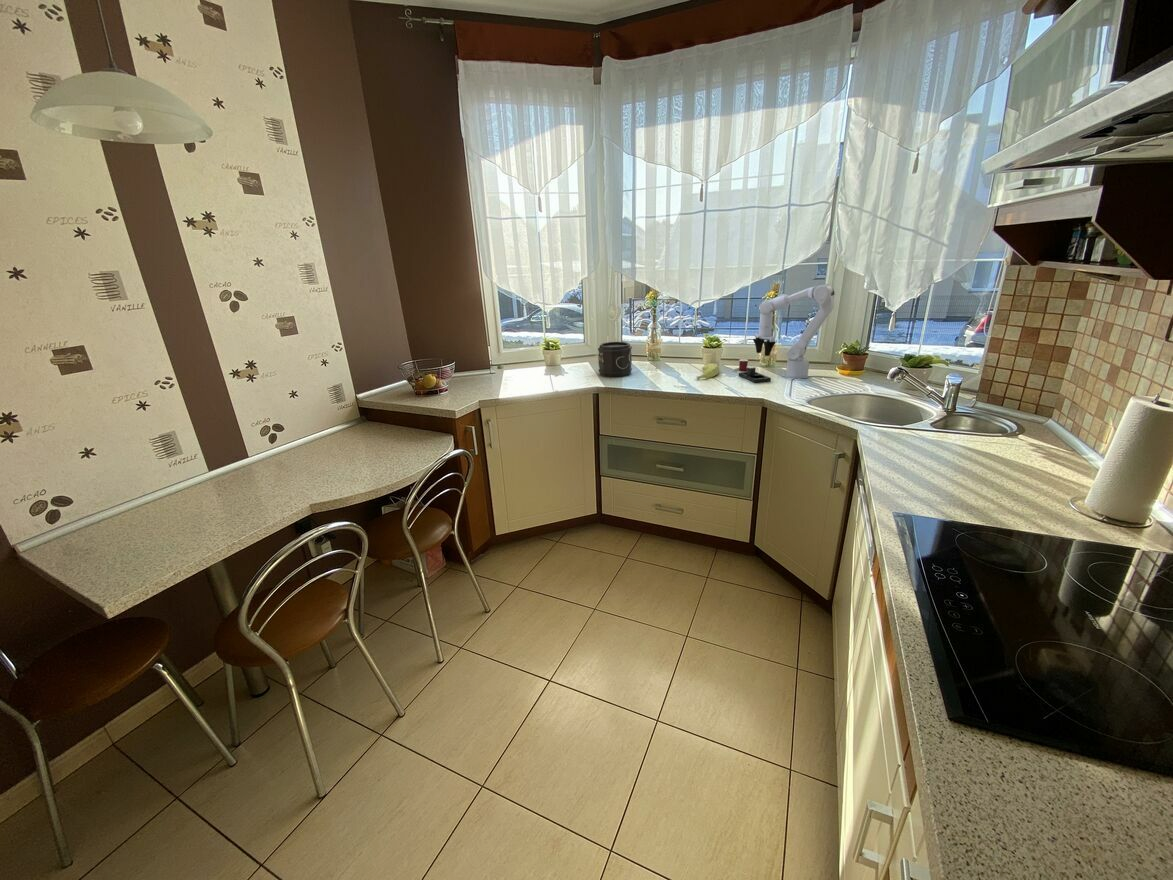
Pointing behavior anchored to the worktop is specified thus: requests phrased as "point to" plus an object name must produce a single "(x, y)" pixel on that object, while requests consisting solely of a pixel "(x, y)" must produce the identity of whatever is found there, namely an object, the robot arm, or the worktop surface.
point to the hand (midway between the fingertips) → (763, 354)
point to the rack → (755, 377)
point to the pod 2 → (751, 370)
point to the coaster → (740, 370)
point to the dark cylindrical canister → (615, 359)
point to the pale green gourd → (709, 371)
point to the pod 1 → (743, 364)
